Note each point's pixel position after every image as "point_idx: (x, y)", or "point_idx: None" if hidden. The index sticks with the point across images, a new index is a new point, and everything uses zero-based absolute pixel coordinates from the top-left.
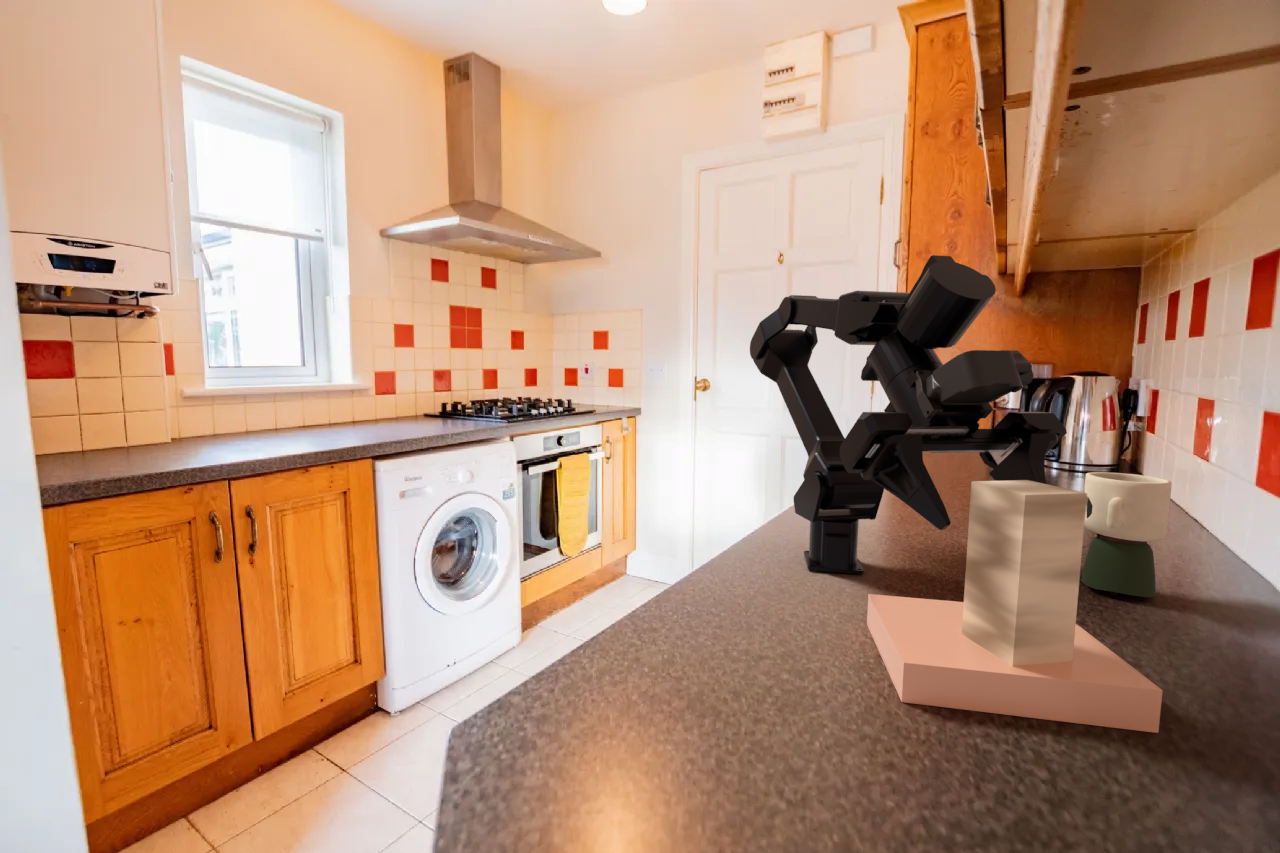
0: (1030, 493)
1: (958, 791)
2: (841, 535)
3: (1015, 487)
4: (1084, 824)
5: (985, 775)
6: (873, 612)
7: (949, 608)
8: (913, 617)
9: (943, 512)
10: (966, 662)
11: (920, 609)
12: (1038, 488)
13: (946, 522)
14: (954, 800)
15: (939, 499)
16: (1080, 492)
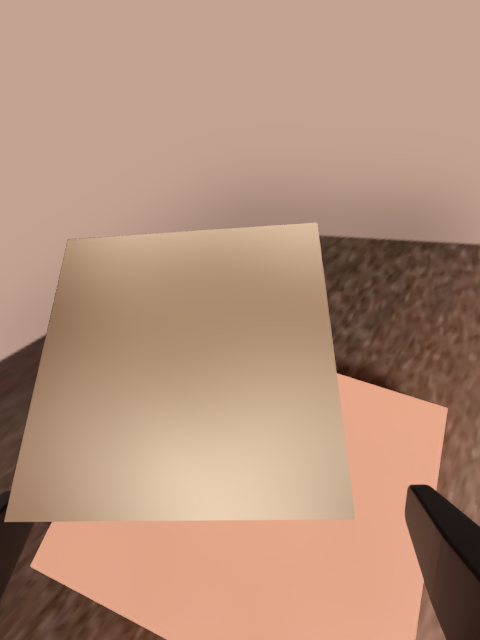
0: (279, 239)
1: (428, 284)
2: None
3: (244, 340)
4: (344, 250)
5: (391, 299)
6: None
7: (242, 616)
8: (349, 578)
9: (447, 508)
10: (350, 397)
11: (311, 621)
12: (163, 315)
13: (427, 486)
14: (437, 276)
15: (475, 560)
16: (79, 246)
